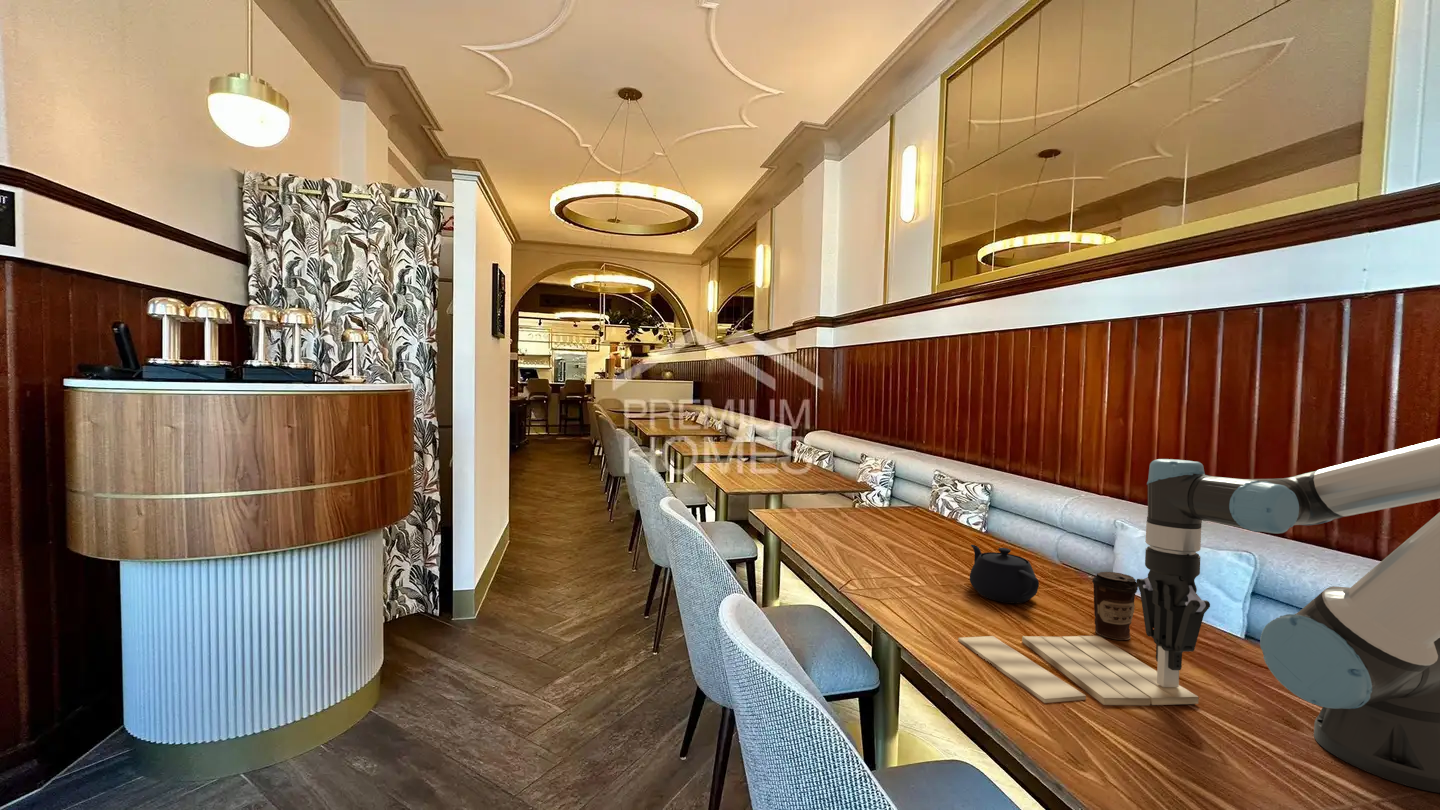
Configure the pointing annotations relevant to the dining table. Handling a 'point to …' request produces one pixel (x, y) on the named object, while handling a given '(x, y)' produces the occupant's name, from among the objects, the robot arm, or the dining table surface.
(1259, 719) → the dining table surface
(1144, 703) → the laid board
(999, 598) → the teapot
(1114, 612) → the coffee cup
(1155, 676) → the plank
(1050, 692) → the plank
